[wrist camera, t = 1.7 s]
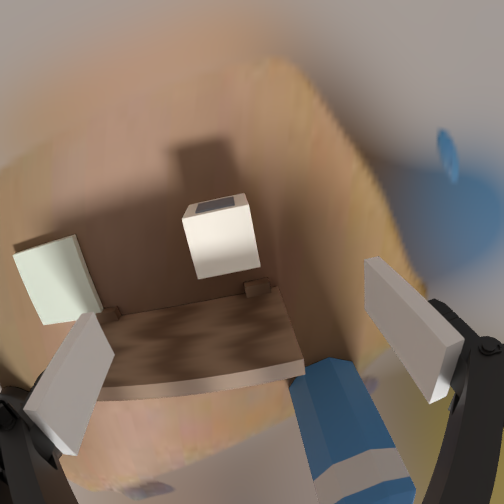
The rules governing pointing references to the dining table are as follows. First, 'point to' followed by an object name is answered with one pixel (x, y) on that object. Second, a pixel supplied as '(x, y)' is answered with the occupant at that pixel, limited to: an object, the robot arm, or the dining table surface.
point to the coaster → (58, 280)
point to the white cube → (221, 236)
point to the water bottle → (347, 438)
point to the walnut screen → (201, 346)
